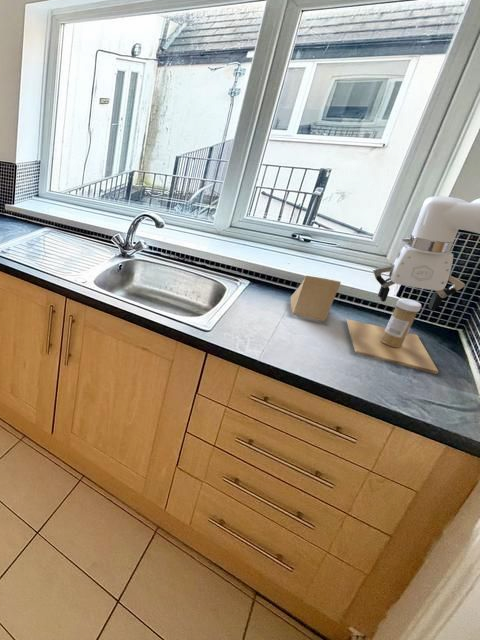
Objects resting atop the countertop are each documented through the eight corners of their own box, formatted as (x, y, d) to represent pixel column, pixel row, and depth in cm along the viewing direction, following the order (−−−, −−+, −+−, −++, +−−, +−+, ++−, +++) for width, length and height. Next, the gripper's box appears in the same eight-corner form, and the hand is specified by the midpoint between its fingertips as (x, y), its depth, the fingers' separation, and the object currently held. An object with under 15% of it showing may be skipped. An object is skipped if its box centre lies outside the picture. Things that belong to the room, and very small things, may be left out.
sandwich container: (319, 304, 143) (334, 264, 137) (324, 325, 131) (341, 282, 125) (288, 298, 147) (302, 258, 141) (291, 317, 135) (306, 275, 129)
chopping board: (415, 339, 123) (417, 334, 123) (436, 376, 106) (438, 371, 106) (344, 323, 132) (346, 318, 131) (354, 355, 115) (355, 350, 115)
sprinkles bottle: (405, 347, 116) (426, 304, 111) (393, 349, 116) (414, 306, 110) (387, 337, 121) (406, 296, 115) (375, 339, 120) (394, 298, 114)
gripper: (386, 242, 110) (366, 301, 116) (484, 255, 101) (456, 318, 107) (381, 235, 116) (362, 292, 122) (473, 247, 107) (447, 307, 112)
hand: (406, 304), depth 114 cm, fingers open, 9 cm apart
